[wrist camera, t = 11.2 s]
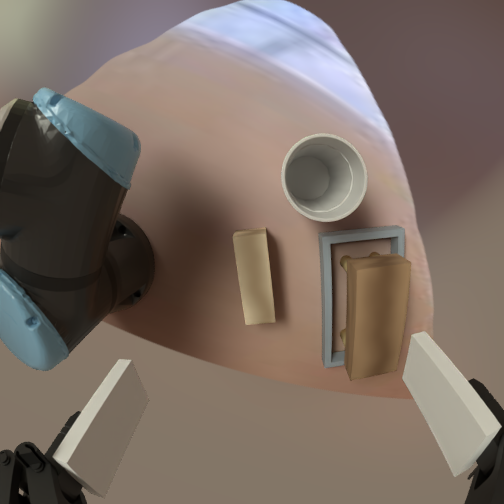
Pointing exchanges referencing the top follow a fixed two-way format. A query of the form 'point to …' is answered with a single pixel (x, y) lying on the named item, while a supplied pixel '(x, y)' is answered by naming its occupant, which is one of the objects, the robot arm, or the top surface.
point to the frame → (326, 278)
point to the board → (375, 313)
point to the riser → (254, 275)
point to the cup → (324, 177)
